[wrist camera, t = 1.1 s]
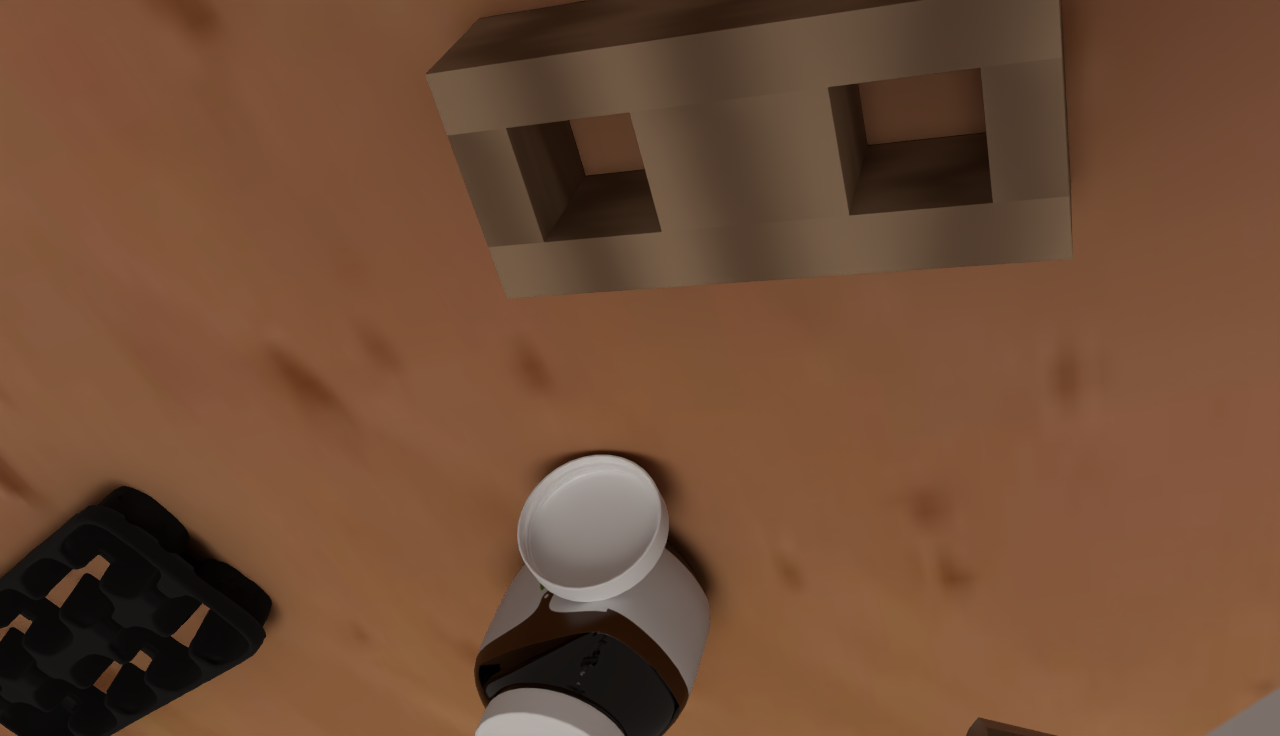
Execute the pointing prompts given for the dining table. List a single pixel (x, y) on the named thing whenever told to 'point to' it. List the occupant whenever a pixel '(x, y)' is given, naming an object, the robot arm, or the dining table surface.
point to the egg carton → (118, 621)
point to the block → (754, 140)
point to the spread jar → (593, 612)
